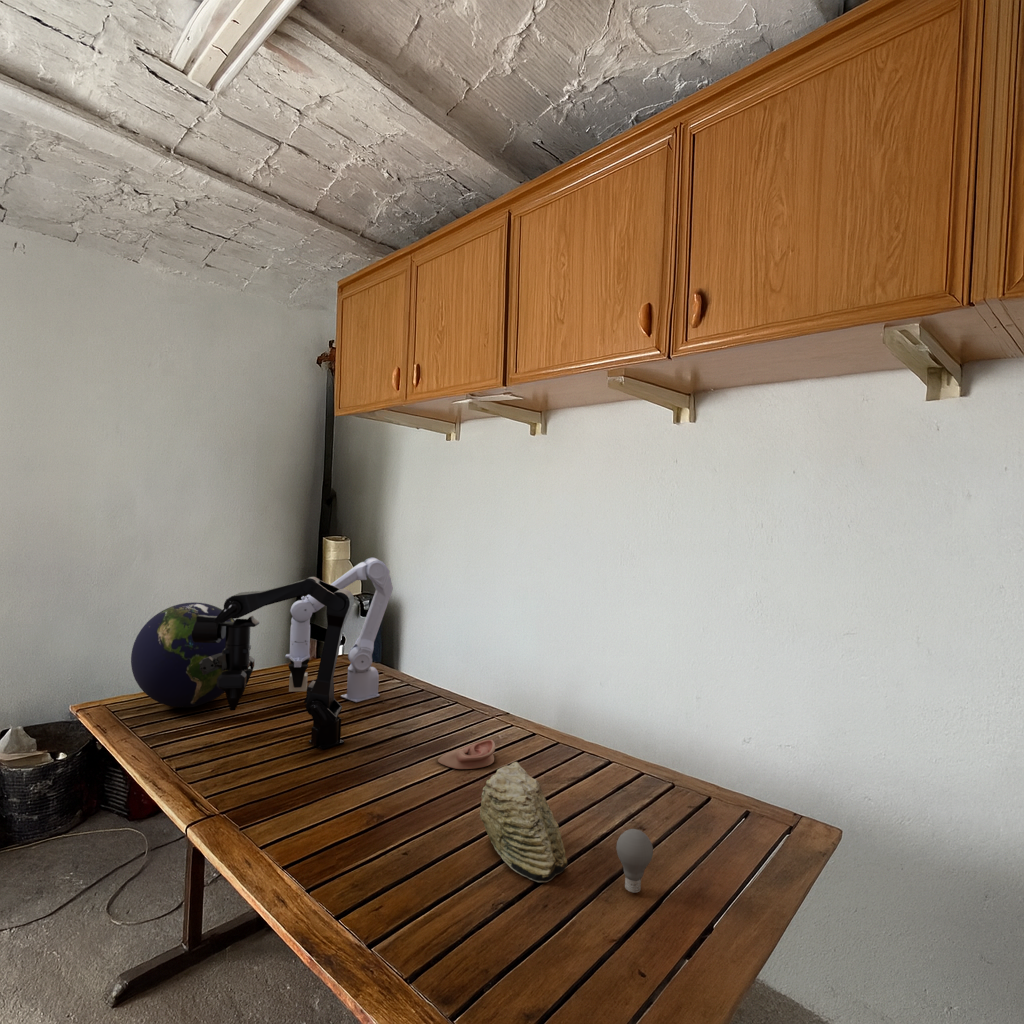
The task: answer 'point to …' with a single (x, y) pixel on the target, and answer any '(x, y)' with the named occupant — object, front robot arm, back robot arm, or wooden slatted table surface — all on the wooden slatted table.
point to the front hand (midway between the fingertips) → (235, 704)
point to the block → (303, 688)
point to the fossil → (522, 824)
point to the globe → (176, 657)
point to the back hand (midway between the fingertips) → (298, 684)
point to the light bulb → (634, 857)
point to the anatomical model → (470, 756)
